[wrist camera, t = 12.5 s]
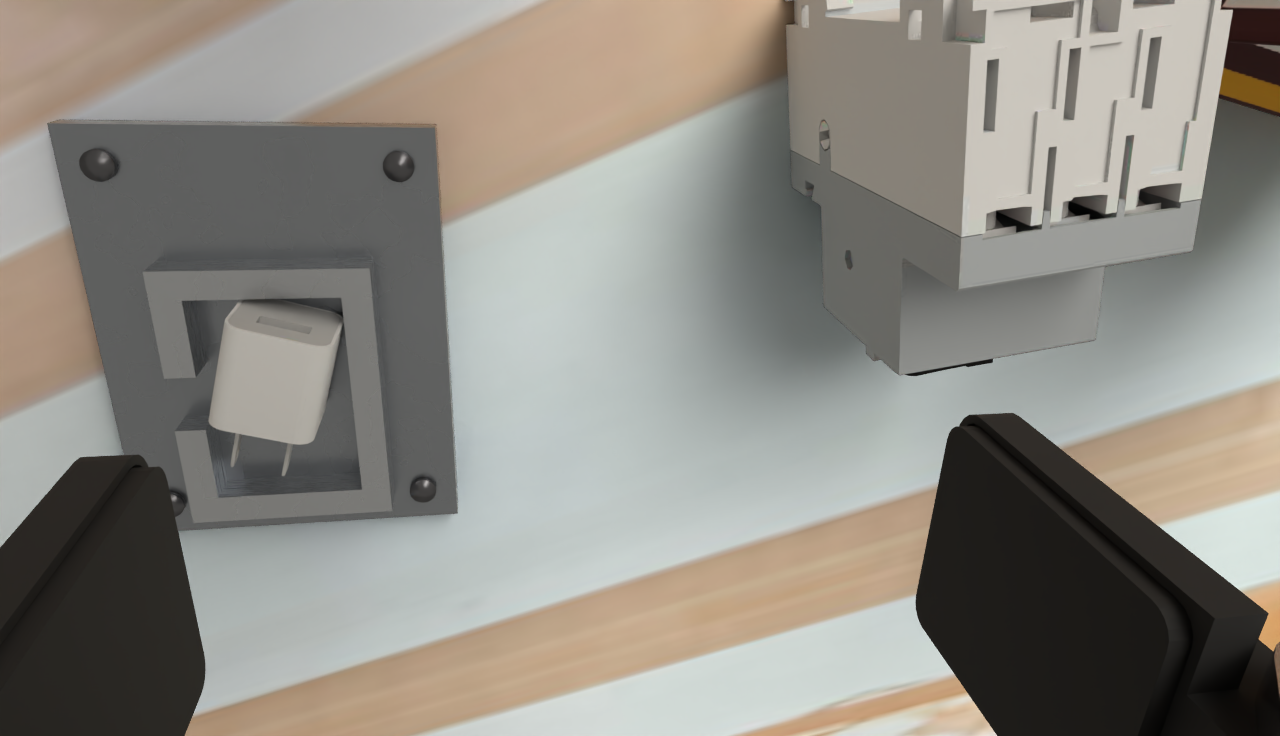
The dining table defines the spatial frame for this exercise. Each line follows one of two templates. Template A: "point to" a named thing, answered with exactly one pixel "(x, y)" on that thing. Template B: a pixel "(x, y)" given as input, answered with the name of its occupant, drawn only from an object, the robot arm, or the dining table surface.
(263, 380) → the usb wall charger
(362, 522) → the dining table surface
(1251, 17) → the decorative lantern
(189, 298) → the plate
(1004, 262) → the circuit breaker
